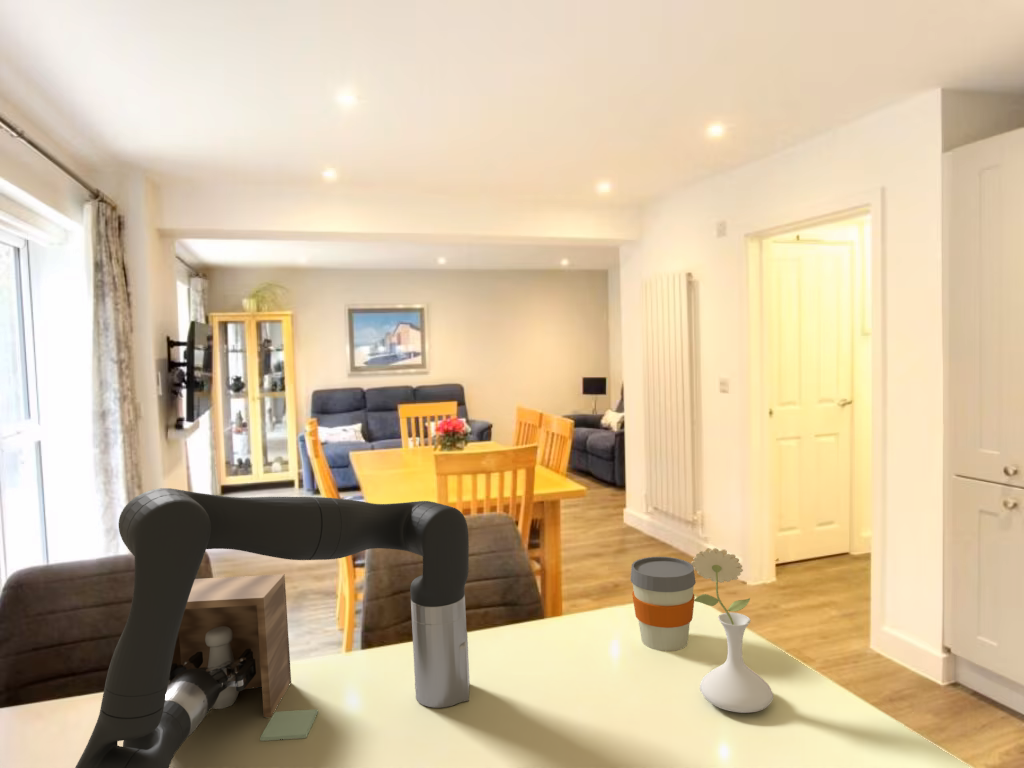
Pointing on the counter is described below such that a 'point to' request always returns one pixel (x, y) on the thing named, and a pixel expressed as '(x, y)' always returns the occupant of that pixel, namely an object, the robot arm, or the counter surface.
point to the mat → (289, 725)
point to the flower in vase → (730, 643)
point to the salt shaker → (221, 661)
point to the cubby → (242, 628)
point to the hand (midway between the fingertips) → (224, 655)
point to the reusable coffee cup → (663, 601)
